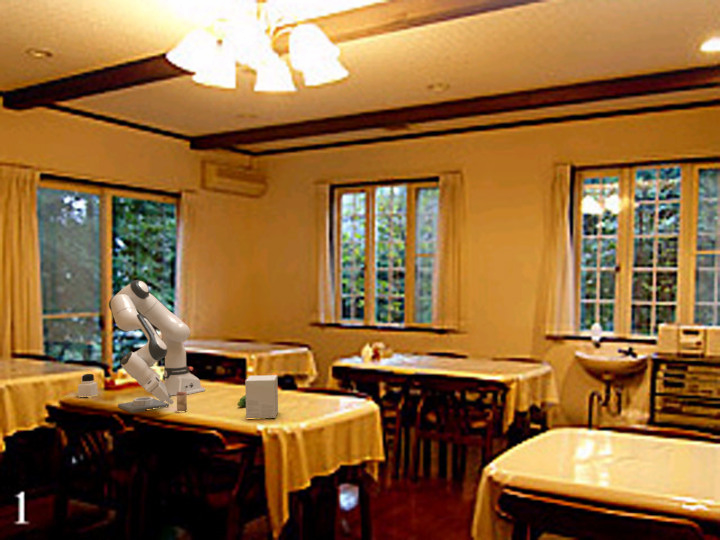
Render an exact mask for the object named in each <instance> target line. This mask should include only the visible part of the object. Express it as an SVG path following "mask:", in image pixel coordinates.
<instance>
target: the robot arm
mask: <svg viewBox="0 0 720 540" xmlns="http://www.w3.org/2000/svg"><path fill="white" fill-rule="evenodd" d="M108 308H109V310H110V311H111V314H112V316H113V319H114V322H115V324H116V326H117V327H118V328H119V329H120V330H122V331H124V332H132V331H137V330H141V331H142V332H143V334H144V336H145V337H146V338H147V342H146V344H144V345H143V346H141V347H140V349H138V350H136V351H134V352H133V351H130V352H127V353H126V354H125V355H124V356H123V357H122V358H121V361H120V365H121V367H122V369H123V370H125V372H126V373H127V374H128V375H129V376H130V377H131V378H132V379H134V380H136V382H137V383H138V385H139V386H141V387H142V388H143V389H144V390H145V391H146V392H147V393H148V394H149V393H150V394H152V396H153V397H155V399H157V400H159V401H162V402H165V403H168V404H169V406H170V405H173V404H174V400H173V399H172V396H177V392H187V395H190V394H195V393H200V392H201V393H202V392H205V391H206V388H205V387H203V386H202V385H201V380H200V379H199V378H198V377H197V376H195V375H194V374H193V373H191V372H190V371H193V370H194V367H193V366H188V365H187V350H186V348H185V346H184V345H185V344H184V342H185V341H187V340H188V339H189V338H190V334H191V329H190V327H189V326H188V325H187V324H186V323H185V322H184V321H182V320H181V319H180V318H179V317H178V316H177V315H175V314H174V313H173V312H171V311H170V310H169V309H168V308H167V307H166V306H165V305H164V304H163V303H161V301H159V299H157V298H156V297H155V296H154V295H153V294H151V292H150V289H149V286H148V285H147V283H145V281H142V280H141V279H136V280H134V281H132V282H130V283H129V284H127V285H126V286H124V287H123V288H122V289H121V290H119V292H117V293H116V294H115V295H114V296H112V297H111V298H110V300H109V301H108ZM155 328H157V329H158V330H159V331H160V335H161V337H162V338H161V337H160V335H159V333H158V332H157V330H156V329H155ZM162 359H164V368H163V370H164V371H163V377H164V382H163V381H162V379H161V375H160V374H159V373H158V372H156V371H155V369H153V367H152V366H154V365H155V364H156V363H157V362H159V361H160V360H162Z"/></svg>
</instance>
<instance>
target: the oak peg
mask: <svg viewBox="0 0 720 540" xmlns="http://www.w3.org/2000/svg"><path fill="white" fill-rule="evenodd" d="M187 397H188V394H187V392H177V395H176V410H177V411H186V410H187V411H188V404H187V403H188V399H187ZM177 411H176V412H177Z"/></svg>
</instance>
